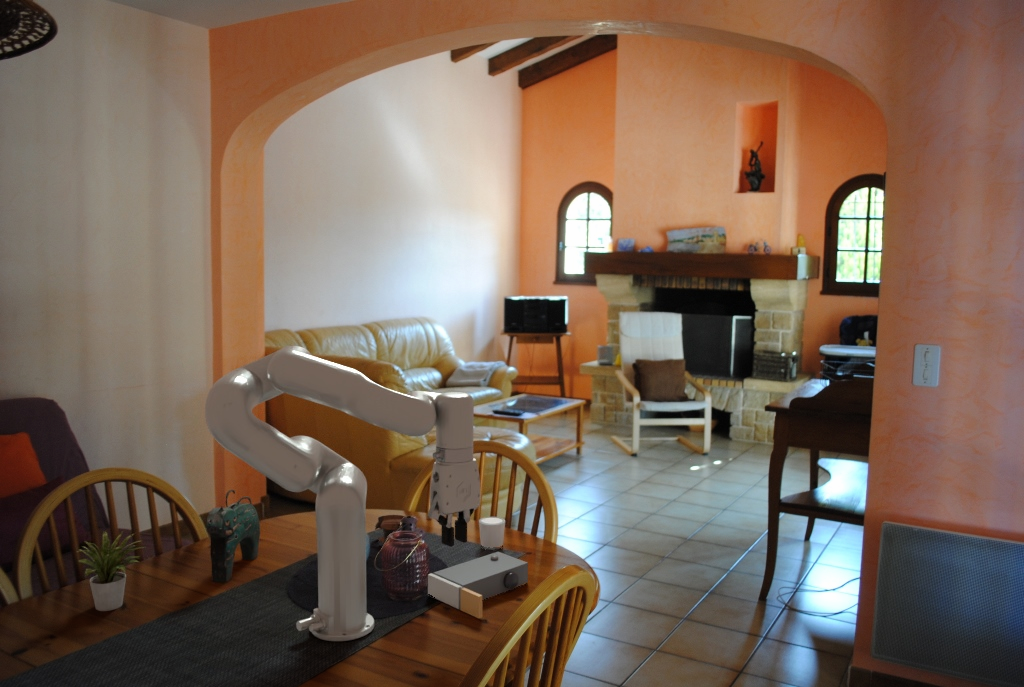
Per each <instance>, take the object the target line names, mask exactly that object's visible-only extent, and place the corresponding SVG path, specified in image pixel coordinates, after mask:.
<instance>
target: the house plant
mask: <svg viewBox="0 0 1024 687" xmlns="http://www.w3.org/2000/svg"><path fill="white" fill-rule="evenodd" d="M123 532H124V530H122V531H121V532H119V534H118V536H117V537H116V538H115V539H114V541H113V542H112V544H111V540H110V538H109V537H108V532H107V531H104V530H103V532H102V540H101V546H100V547H101V548H99V547H98V546H97V545H96V543H91V542H88V541H86V540H84V541H83V542H84V543H85V544H86V545H87V547H88V548H87V547H86V546H81V547H82V548H84V550H83V549H78V551H77V553H79V552H82V553H84V554H85V555H86V556H87V557H89V558H90V559H91V560H92V561H91V560H90V559H88V558H83V559H82V558H81V559H79V560H78V561H77V562H78V563H82V564H85V565H88V566H90V567H92V568H86V569H85V571H84V574H83V575H84V578H86V577H88V576H89V575H91V574H96V575H93V576H92V577H90V579H89V584H90V585H89V586H90V589H91V593H92V597H93V601H94V602H93V603H94V607H95V610H97V611H99V612H110V611H114V610H117V609H119V608H121V607H122V606H123V602H124V596H125V588H126V587H125V586H126V581H127V580H126V579H127V574H126V565H129V564H132V563H141V562H140V561H138V560H137V559H139V560H140V557H141V555H136V556H134V555H129V556H125V555H127V554H129V553H131V552H133V551H136V550H138V549H144V548H146V546H141V547H136V546H138V545H135V544H136V543H139V542H142V541H145V540H137V541H134V542H131V543H129V544H127V543H128V541H129V539H131V537H133V536H134V535H135V534H136V532H135V533H132V534H130V535H128V536H126V537H125V538H124V539H123V540H122V541H121V543H120V544H119V545H118V546H117V544H118V543H119V540H120V539H121V536H122V535H123ZM133 544H134V545H133ZM116 546H117V547H116ZM132 547H134V548H132ZM96 548H97V549H96ZM124 556H125V557H124ZM123 557H124V558H123ZM128 559H129V560H128ZM121 570H122V571H123V572H122V571H121ZM120 571H121V572H120Z"/></svg>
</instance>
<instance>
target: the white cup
mask: <svg viewBox="0 0 1024 687" xmlns="http://www.w3.org/2000/svg"><path fill="white" fill-rule="evenodd" d="M478 527H479V528H478V529H479V538H480V540H479V541H480V546H481V545H482V546H484V547H487V548H488V547H490V548H493V547H500V546H502V545H503V546H504V538H505V529H506V520H505V518H502V517H500V516H485V517H482V518H479V519H478Z"/></svg>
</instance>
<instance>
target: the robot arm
mask: <svg viewBox="0 0 1024 687" xmlns="http://www.w3.org/2000/svg"><path fill="white" fill-rule="evenodd" d="M282 394H287V395H290V396H294V397H297V398H300V399H304V400H306V401H310V402H313V403H315V404H316V403H317V404H320V405H323V406H325V407H329V408H332V409H335V410H338V411H341V412H343V413H346V414H347V415H349V416H352V417H353V418H357V419H359V420H362V421H364V422H366V423H368V424H371V425H373V426H376V427H379V428H382V429H384V430H388V431H391V432H394V433H397V434H401V435H404V436H408V437H422V436H425V435H427V434H428V433H430V432H431V431H432V430H433V428H434V427H435V452H433V453H432V458H433V459H434V460H435V462H434V463H433V465H432V471H431V476H430V489H429V492H430V493H429V502H430V504H429V505H430V508H429V509H428V510H429V511H428V513H427V517H428V518H430V519H433V520H435V521H436V522H437V523H438V524H439V525H440V526H441V544H443V545H445V546H447V547H451V548H452V547H454V546H455V541H458V542H461V543H467V542H468V523H470V521H471V516H472V515H473V513H474V511H475V510H477V509H478V508H479V507H480V506H481V499H482V498H481V480H480V471H479V466H478V465H479V464H478V461H477V459H476V458H474V415H475V413H474V399H473V398H474V397H473V396H472V395H471V394H469V393H467V392H459V391H452V392H451V391H450V392H449V391H448V392H443V393H442V392H441V393H440V392H430V391H424V390H412V391H409V392H406V393H402V392H398V391H397V390H396V391H395V390H393V389H390V388H387V387H385V386H382V385H380V384H378V383H376V382H374V381H373V380H371V379H370V378H368V377H367V376H366V375H365V374H364V373H362V372H360V371H358V370H357V369H355V368H354V367H353V368H352V367H349V366H346V365H342V364H340V363H336V362H332V361H330V360H327V359H323V358H320V357H318V356H315V355H312V353H311V352H310V351H309V350H308V349H306V348H304V347H303V346H299V345H287V346H285V347H283V348H280V349H278V350H276V351H275V352H273V353H270V354H268V355H266V356H263V357H261V358H259V359H257V360H254V361H252V362H249V363H247V364H245V365H243V366H239V367H237V368H235V369H233V370H231V371H230V372H227V374H225V375H223V376H221V377H220V378H219V379H217V380H216V381H215V383H213V385H212V386H211V388H210V389H209V391H208V392H207V396H206V399H205V404H204V405H205V406H204V418H205V423H206V427H207V429H208V431H209V433H210V435H211V436H212V437H213V439H214V440H215V441H216V442H217V443H218V444H219V445H220V446H221V447H223V448H224V450H227V452H230V453H231V454H232V455H234V456H236V457H237V458H238V459H239V460H242V461H243V462H245V464H247V465H249V466H250V467H252V468H253V469H254V470H256V471H257V472H258V473H260V474H262V475H263V476H265V477H266V478H267V479H269V480H271V481H272V482H274V483H275V484H277V485H278V486H280V487H281V488H283V489H284V490H286V491H289V492H293V493H301V492H304V491H306V490H309V491H310V492H313V493H314V494H316V499H315V508H314V509H315V511H314V512H315V523H316V543H317V544H316V545H317V546H316V548H317V549H316V550H317V553H316V554H317V588H318V589H317V593H318V594H317V596H318V599H317V600H318V603H317V604H318V607H316V608H314V609H313V614H311V615H310V616H309V617H307V618H304V619H299V620H296V624H295V626H296V629H297V630H298V632H301V631H304V630H306V629H309V630H308V631H310V632H311V634H312V635H313V636H314V637H316V638H317V639H320V640H323V641H329V642H346V641H352V640H357V639H359V638H362V637H364V636H367V635H368V634H369V633H371V632H372V631H373V629H374V628H375V619H374V618H375V617H373V615H371V614H370V613H368V612H367V610H368V609H367V548H366V547H367V538H366V537H367V536H366V534H367V533H366V504H367V503H366V502H367V491H368V482H367V478H366V476H365V475H364V473H363V471H361V469H360V468H359V467H358V466H356V464H353V463H352V462H351V461H349V460H348V459H346V458H345V457H344V456H341V455H340V454H338V453H337V452H335V451H334V450H332V449H331V448H330V447H328V446H326V445H325V444H323V443H322V442H320V441H319V440H317V439H315V438H313V437H311V436H307V435H295V436H291V437H289V436H287V435H286V434H284V433H283V432H282V431H281V432H280V431H279V430H278V429H277V428H276V427H274V426H272V425H270V424H269V423H267V422H266V421H263V420H261V419H259V418H258V417H256V415H255V414H254V413H253V410H254V408H255V407H256V406H258V405H260V404H263V403H264V402H266V401H269V400H271V399H273V398H275V397H278V396H281V395H282ZM453 514H456V520H454V527H453Z"/></svg>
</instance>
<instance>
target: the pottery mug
mask: <svg viewBox="0 0 1024 687" xmlns="http://www.w3.org/2000/svg"><path fill="white" fill-rule="evenodd" d="M403 517H406V516H404V515H400V514H387V515H380V516H378V518H377V522H376V524H375V526H374V527H375V528H374V530H376V531H377V530H378V529H381V530H382V531H383V536H381V537H378V540H379V541H382V543H383V542H384V541H385V539H386V538H387V536H388V535H389V534H390V533H392V532H393V531H395V530H397V529H398V528H399V526H400V522H401V519H402V518H403ZM379 541H378V542H379Z"/></svg>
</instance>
